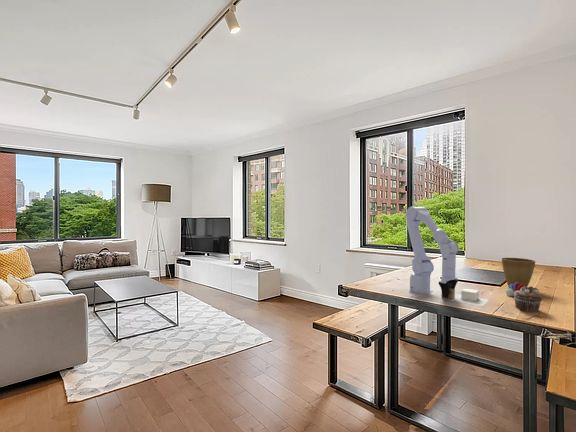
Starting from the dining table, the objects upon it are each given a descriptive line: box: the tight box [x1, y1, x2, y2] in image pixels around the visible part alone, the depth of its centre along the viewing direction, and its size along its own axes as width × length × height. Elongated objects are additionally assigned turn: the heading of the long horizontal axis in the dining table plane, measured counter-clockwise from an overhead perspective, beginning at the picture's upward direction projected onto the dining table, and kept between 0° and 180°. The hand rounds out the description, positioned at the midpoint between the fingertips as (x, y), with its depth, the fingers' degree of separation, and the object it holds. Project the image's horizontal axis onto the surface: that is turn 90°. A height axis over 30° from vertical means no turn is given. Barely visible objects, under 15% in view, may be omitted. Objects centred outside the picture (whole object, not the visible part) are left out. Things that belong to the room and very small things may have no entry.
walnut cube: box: [441, 288, 456, 301], centre depth 158 cm, size 4×4×4 cm
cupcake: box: [513, 286, 543, 313], centre depth 143 cm, size 10×10×10 cm
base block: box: [460, 288, 480, 302], centre depth 157 cm, size 6×6×4 cm
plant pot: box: [501, 257, 536, 289], centre depth 178 cm, size 15×15×16 cm
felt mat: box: [439, 293, 490, 307], centre depth 157 cm, size 18×14×1 cm
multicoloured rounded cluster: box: [505, 282, 525, 298], centre depth 162 cm, size 8×10×7 cm
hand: (448, 295), depth 158 cm, fingers open, 7 cm apart
